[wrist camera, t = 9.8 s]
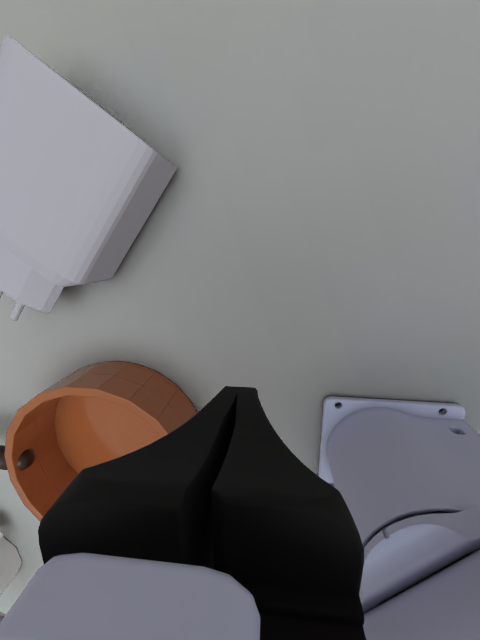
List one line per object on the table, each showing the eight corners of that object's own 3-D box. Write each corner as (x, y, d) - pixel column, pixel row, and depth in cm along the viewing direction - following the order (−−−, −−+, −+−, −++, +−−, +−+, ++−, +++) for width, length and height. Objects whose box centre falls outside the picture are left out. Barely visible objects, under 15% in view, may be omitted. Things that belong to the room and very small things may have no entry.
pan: (203, 365, 22) (184, 394, 17) (208, 509, 25) (194, 564, 21) (39, 357, 23) (-15, 382, 19) (65, 494, 27) (24, 541, 22)
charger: (-18, 269, 22) (65, 79, 18) (79, 340, 23) (181, 170, 19) (-95, 274, 18) (-6, 22, 14) (30, 363, 18) (150, 145, 14)
